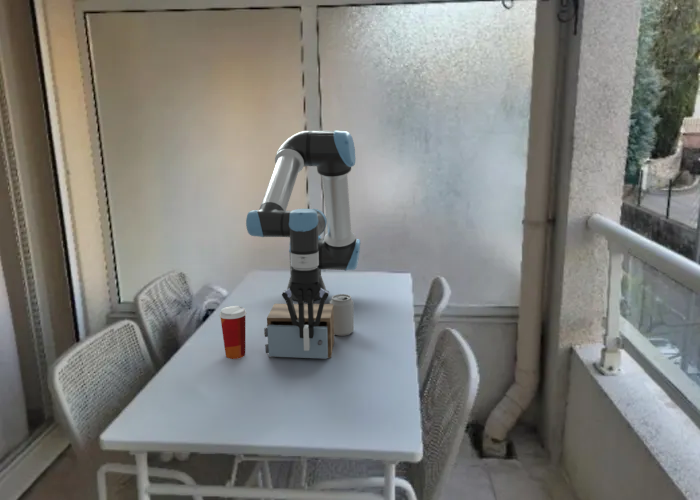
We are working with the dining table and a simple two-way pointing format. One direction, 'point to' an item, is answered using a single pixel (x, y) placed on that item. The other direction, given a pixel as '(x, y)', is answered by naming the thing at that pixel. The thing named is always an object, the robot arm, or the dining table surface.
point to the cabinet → (282, 317)
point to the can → (343, 314)
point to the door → (295, 342)
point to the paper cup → (233, 331)
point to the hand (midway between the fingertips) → (307, 348)
